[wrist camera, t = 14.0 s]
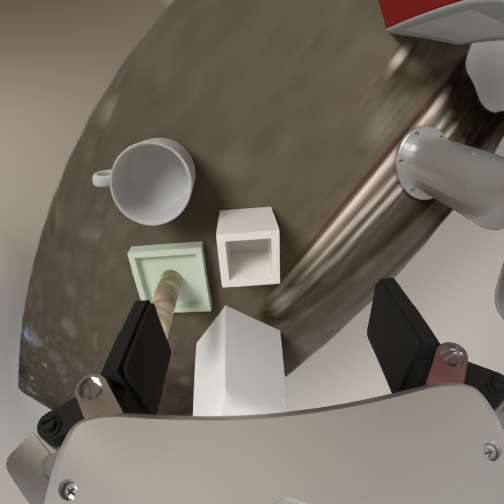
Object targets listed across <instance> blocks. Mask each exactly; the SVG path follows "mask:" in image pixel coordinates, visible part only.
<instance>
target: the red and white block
mask: <svg viewBox="0 0 504 504" xmlns="http://www.w3.org/2000/svg"><path fill="white" fill-rule="evenodd" d="M379 3H380V7H381V10H382V14H383V17H384V21H385V25H386V28H387V31H388V32H389V33H391V34H398V35H406V36H413V37H419V38H425V39H431V40H436V41H441V42H446V43H450V44H454V45H460V44H468V43H476V42H486V41H499V40H504V0H379Z"/></svg>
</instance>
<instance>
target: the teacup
mask: <svg viewBox="0 0 504 504" xmlns="http://www.w3.org/2000/svg"><path fill="white" fill-rule="evenodd" d="M194 182H195V166H194V163H193V160H192V158H191V156H190V154H189V153H188V152H187V150H186V149H185V148H184V147H183V146H181V145H180V144H179V143H177V142H175V141H173V140H170V139H166V138H152V139H148V140H145V141H142V142H139V143H136V144H134V145H131V146H130V147H128V148H127V149H125V150H124V151H123V152H122V153H121V154H120V155H119V156H118V158H117V159H116V161H115V163H114V165H113V168H112V170H104V171H99V172H97V173H95V174H94V175H93V184H94V185H95V186H96V187H109V186H110V189H111V193H112V196H113V199H114V201H115V203H116V205H117V207H118V208H119V209H120V211H121V212H122V213H123V214H124V215H125V216H127V217H128V218H129V219H131V220H133V221H135V222H138V223H140V224H144V225H152V226H154V225H161V224H165V223H167V222H170V221H172V220H173V219H175V218H176V217H178V216H179V215H180V214H181V213H182V212H183V210H184V209H185V208H186V206H187V204H188V202H189V200H190V197H191V193H192V190H193V187H194Z"/></svg>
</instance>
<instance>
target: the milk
mask: <svg viewBox="0 0 504 504" xmlns="http://www.w3.org/2000/svg"><path fill="white" fill-rule="evenodd" d="M281 412H287V396H286V385H285V375H284V364H283V354H282V344H281V335H280V330H277V329H275V328H273V327H271V326H269V325H266V324H264V323H262V322H260V321H258V320H255V319H253V318H251V317H249V316H247V315H245V314H243V313H240V312H238V311H236V310H234V309H232V308H230V307H228V306H226V305H225V307H224V308H223V309H222V311H221V312H220V313H219V315H218V316H217V317H216V319H215V320H214V321H213V323H212V324H211V325H210V327H209V328H208V329H207V331H206V332H205V333H204V335H203V336H202V337H201V339H200V340H199V341H198V342H197V344H196V361H195V380H194V404H193V416H237V415H256V414H270V413H281Z"/></svg>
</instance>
